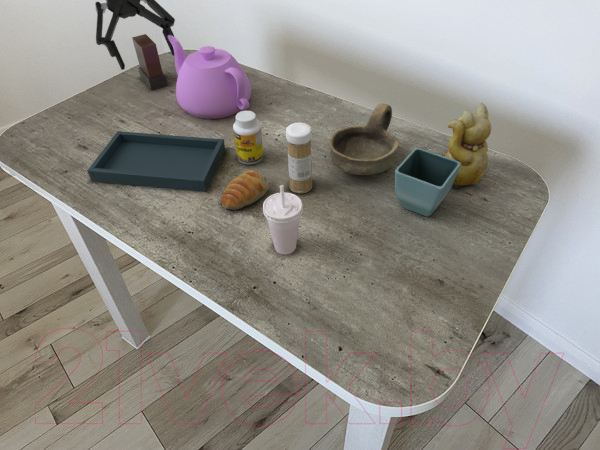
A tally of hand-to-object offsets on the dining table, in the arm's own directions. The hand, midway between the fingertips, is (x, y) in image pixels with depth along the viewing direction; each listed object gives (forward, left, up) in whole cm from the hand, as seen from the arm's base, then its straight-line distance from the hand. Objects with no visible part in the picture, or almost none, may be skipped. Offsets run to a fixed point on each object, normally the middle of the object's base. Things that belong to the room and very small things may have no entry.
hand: (149, 60), depth 122 cm
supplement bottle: (+33, -29, -6) cm, 44 cm away
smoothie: (+45, -53, -6) cm, 69 cm away
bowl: (+57, -27, -6) cm, 63 cm away
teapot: (+18, -8, -6) cm, 20 cm away
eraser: (0, 0, -6) cm, 6 cm away
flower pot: (+68, -39, -6) cm, 78 cm away
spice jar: (+45, -37, -6) cm, 58 cm away
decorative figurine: (+76, -30, -6) cm, 81 cm away
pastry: (+35, -41, -6) cm, 54 cm away
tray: (+15, -34, -6) cm, 37 cm away
